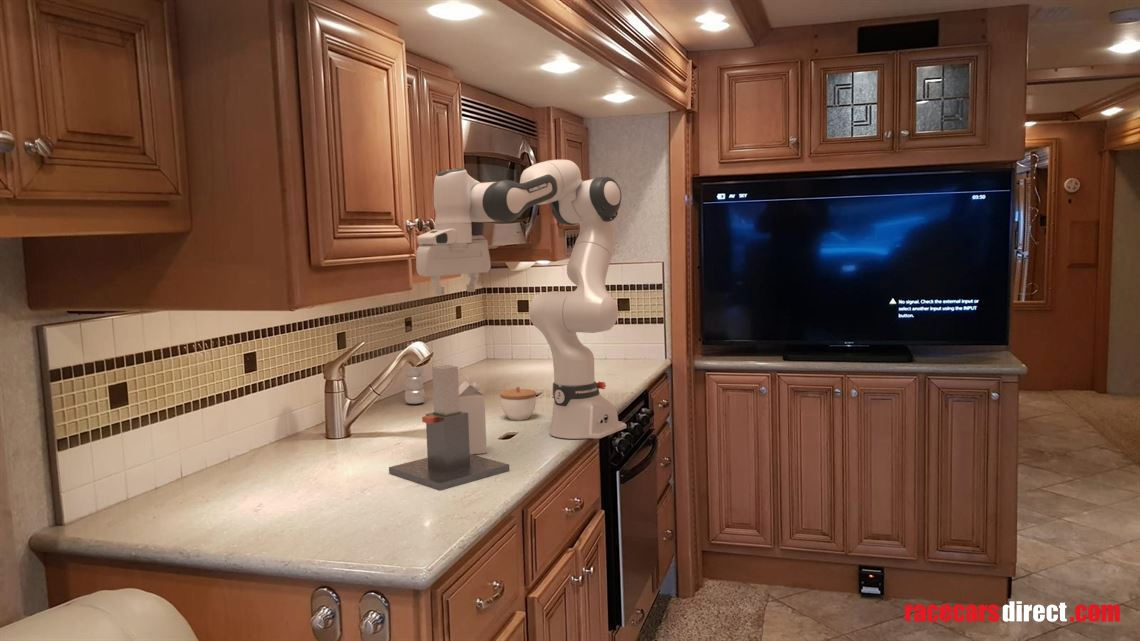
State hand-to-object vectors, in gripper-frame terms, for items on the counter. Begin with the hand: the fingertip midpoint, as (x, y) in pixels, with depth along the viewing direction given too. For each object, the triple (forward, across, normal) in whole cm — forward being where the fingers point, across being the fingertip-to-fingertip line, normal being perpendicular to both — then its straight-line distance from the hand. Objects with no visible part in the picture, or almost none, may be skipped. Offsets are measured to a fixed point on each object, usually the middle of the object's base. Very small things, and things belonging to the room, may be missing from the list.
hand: (455, 293), depth 213 cm
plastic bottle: (+41, -31, -65) cm, 83 cm away
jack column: (+34, +10, +8) cm, 36 cm away
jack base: (+41, +10, +8) cm, 43 cm away
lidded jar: (+41, -39, -23) cm, 61 cm away
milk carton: (+41, -5, -3) cm, 42 cm away
